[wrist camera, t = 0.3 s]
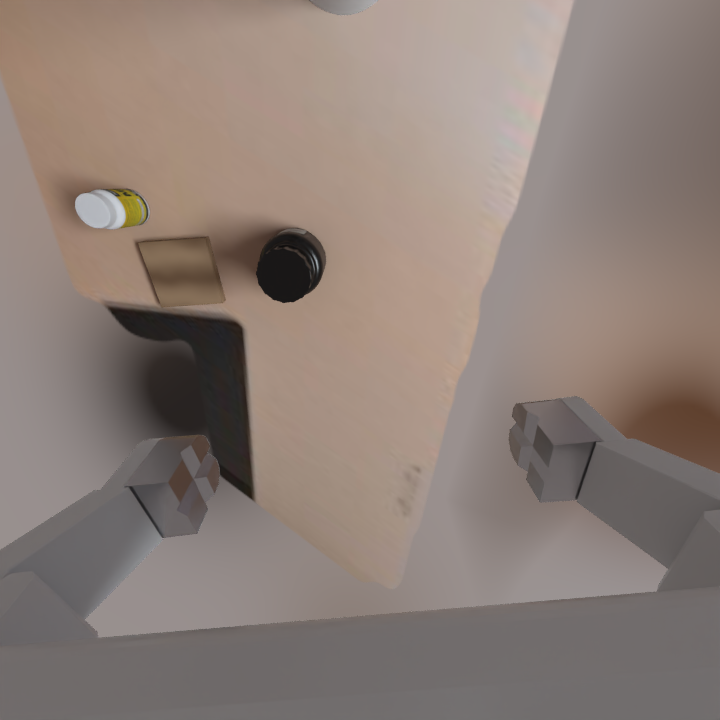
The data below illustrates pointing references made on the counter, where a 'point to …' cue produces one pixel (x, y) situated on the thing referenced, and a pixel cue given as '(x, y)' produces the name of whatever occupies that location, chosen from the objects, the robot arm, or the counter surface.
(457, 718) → the robot arm
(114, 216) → the supplement bottle
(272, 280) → the ink bottle
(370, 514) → the counter surface
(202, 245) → the tan slab
